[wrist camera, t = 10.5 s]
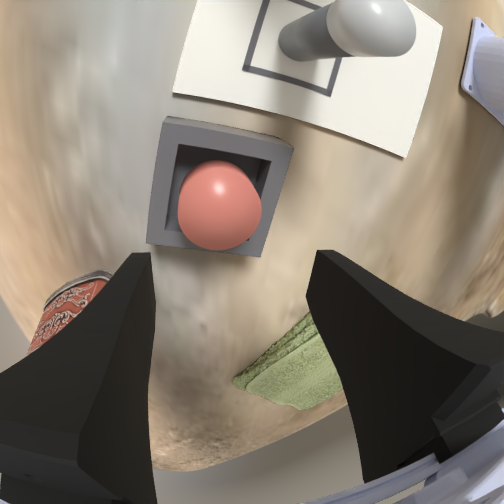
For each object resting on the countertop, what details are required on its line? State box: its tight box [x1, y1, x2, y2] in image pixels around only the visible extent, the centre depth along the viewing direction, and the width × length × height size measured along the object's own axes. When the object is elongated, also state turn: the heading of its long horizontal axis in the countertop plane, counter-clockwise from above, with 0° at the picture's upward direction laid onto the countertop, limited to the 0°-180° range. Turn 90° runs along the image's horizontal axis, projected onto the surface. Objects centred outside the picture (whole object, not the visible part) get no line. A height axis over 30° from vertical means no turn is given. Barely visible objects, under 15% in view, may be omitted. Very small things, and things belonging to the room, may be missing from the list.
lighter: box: [27, 270, 113, 356], centre depth 17 cm, size 8×3×10 cm, turn 112°
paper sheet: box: [172, 0, 443, 158], centre depth 15 cm, size 17×12×1 cm
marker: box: [278, 0, 416, 62], centre depth 11 cm, size 3×3×9 cm
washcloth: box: [232, 311, 343, 410], centre depth 29 cm, size 13×18×3 cm
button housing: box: [146, 116, 294, 257], centre depth 17 cm, size 7×7×3 cm
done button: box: [178, 160, 262, 250], centre depth 15 cm, size 4×4×2 cm
